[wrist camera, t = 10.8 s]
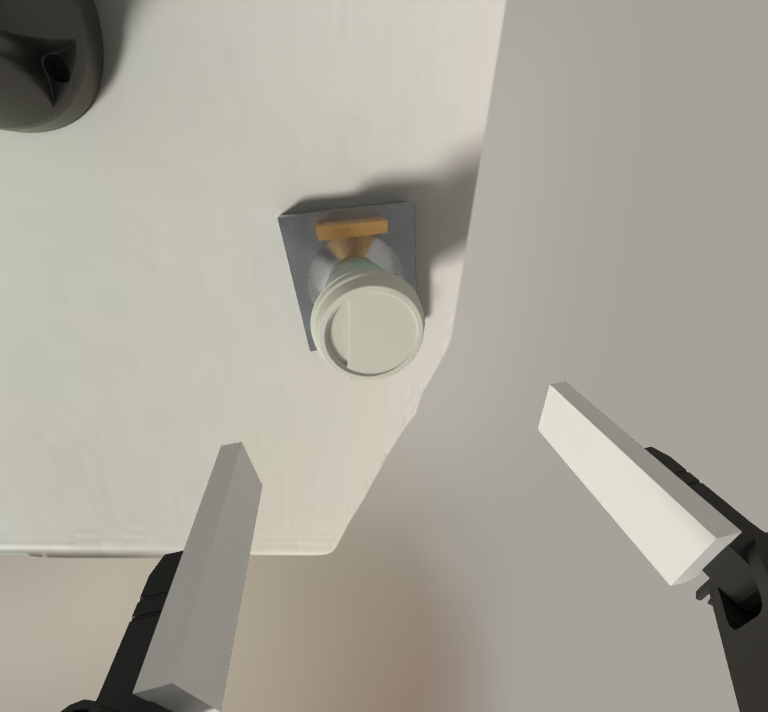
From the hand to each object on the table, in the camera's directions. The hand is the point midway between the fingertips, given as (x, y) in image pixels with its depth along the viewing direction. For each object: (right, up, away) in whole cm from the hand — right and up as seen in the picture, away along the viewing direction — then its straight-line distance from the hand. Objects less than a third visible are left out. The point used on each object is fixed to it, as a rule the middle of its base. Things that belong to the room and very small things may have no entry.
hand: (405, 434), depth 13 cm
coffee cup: (-4, +11, +18) cm, 22 cm away
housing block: (-4, +12, +21) cm, 24 cm away
